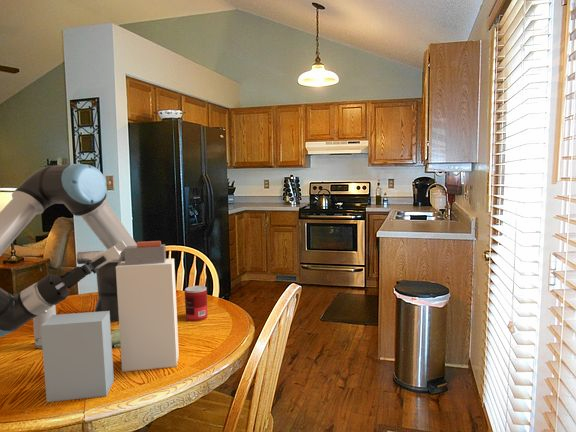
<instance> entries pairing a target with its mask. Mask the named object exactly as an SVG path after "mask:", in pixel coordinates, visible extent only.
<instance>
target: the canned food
mask: <svg viewBox="0 0 576 432" xmlns="http://www.w3.org/2000/svg"><path fill="white" fill-rule="evenodd" d="M184 303H185V306H184V307H185V318H186V320H187V321H188V322H200V321H203V320H206V319H207V318H208V315H209V313H208V312H209V311H208V289H207V286H204V285H192V286H188V287H186V288H185V289H184Z"/></svg>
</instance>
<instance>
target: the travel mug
mask: <svg viewBox="0 0 576 432" xmlns="http://www.w3.org/2000/svg"><path fill="white" fill-rule="evenodd" d="M56 306H57V305H53V306H52V307H51V308H49V309H48V310H47V313H46V314H44V313H43V312H42V313H41V314H39V315H38V316H36V317H34V318H33V319H32V322H33V323H32V324H33V335H34V336H33V337H34V338H33V339H34V347H35V348H36V349H37V348H38V350H43V348H42V335H41V325H42V324H43V323H44V322H46V321H47V320H48V319H49V318H50V317H51V316H53V315H57V310H56V309H57V308H56Z"/></svg>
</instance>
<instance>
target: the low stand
mask: <svg viewBox="0 0 576 432" xmlns="http://www.w3.org/2000/svg"><path fill="white" fill-rule="evenodd" d="M111 329H112V328H111V321H110V311H101V312H94V311H89V312H77V313H76V312H75V313H74V312H73V313H61V314H60V313H59V314H56V315H53V316H51V317H50V318H49V319H48V320H47V321H46V322H44V323H43V324H42V325H41V335H42V348H43V349H42V357H43V358H42V360H43V372H44V384H45V385H44V386H45V399H46V403H50V402H62V401H72V400H78V399H79V400H80V399H88V398H89V399H91V398H101V397H107V396H108V394H109V392H110V391H111V388H112V386H113V384H114V381H115V379H114V378H115V375H114V360H113V358H114V357H113V346H112V342H111V332H112V331H111Z"/></svg>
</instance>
